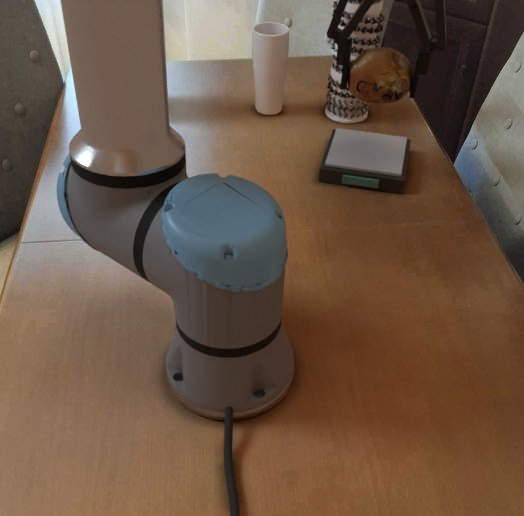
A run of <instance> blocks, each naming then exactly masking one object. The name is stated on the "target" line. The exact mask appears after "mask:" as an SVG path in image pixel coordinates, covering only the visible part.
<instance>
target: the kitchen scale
mask: <svg viewBox="0 0 524 516" xmlns="http://www.w3.org/2000/svg"><path fill="white" fill-rule="evenodd" d="M411 141H412V140H411V138H409V139H408V136H401V135H393V134H384V133H378V132H370V131H364V130H363V131H362V130H356V129H347V128H340V127H336V129H334V128H333V129H332V131H331V134H330V137H329V139H328V143H327V145H326V149H325V151H324V154H323V157H322V160H321V163H320V167H319V173H318V182H320V183H326V184H333V185H338V186H346V187H353V188H359V189H360V188H361V189H366V190H373V191H380V192H387V193H394V194H399V195H402V194H403V191H404V186H405V183H406V175H407V168H408V161H409V155H410V149H411Z"/></svg>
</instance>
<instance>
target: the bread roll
mask: <svg viewBox="0 0 524 516" xmlns="http://www.w3.org/2000/svg"><path fill="white" fill-rule="evenodd" d="M412 80H413V68H412V64H411V63H410V61H409V60H408V58H407V57H406V56H405V55H404V54H403V53H402V52H400V51H398V50H396V49H394V48H391V47H387V46H382V47H379V48H369V49H366V50H365V51H364V52H363V53H362V54H360V55H359V56H358V57H357V58H356V59H355V60H354V61H353V63H352V64H351V65H350V66H349V71H348V78H347V82H348V88H349V90H350V92H351V94H352V95H353V96H354V97H356V98H357V99H359V100H361V101H364V102H368V104H376V105H377V104H379V105H380V104H381V105H387V104H393V103H397V102H399V101H400V100H402V99H403V98H405V97H406V95H408V93H409V92H410V90H411V85H412Z"/></svg>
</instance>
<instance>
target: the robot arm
mask: <svg viewBox="0 0 524 516" xmlns="http://www.w3.org/2000/svg"><path fill="white" fill-rule="evenodd" d="M394 1H395V2H397V3H398V2H400V3H403V2H404V1H406V4H407V7H408V10H409V11H410V14H411V17H412V20H413V23H414V26H415V29H416V32H417V35H418V37H419V41H420V43H421V46H418V51H417V54H416V61H415V65H414V69H413V70H414V71H413V74H412V85H411V90H409V97H408V98H409V99H415V95H416V91H417V86H418V81H419V76H421V75H422V76H426V75H427V74H428V71H429V66H430V63H431V56H432V54H433V53H434V52H437V51H441V52H442V51H445V50H446V48H447V39H448V38H447V23H446V21H447V20H446V2H445V1H446V0H433V1H434V16H435V32H436V38H433V37H432V34H431V32H430V27H429V25H428V22H427V19H426V16H425V13H424V9H423V7H422V3H421V0H394ZM347 2H348V0H339V2H338V4H337V7H336V10H335V12H334V15H333V17H332V18H331V21H330V23H329V26H328V28H327V31H326V37H327V38H328V39H332V38H333V39H334V40H336V41H337V43H338V49H337V58H336V63H337V65H342V66H343V69H342V77H341V86H340V89H342V90H345V88H346V85H347V78H348V71H349V65H350V57H351V49H352V41H353V40H352V39H348V38H349V37H350V35H351V34H352V33H353V31H354V30H355V28H356V27H357V25H358V24H359V23H360V21H361V20H362V18H363V17H364V15H365V14H366V13H367V11H368V10H369V8H370V7H371V6H372V5H373V3H374V2H375V0H363V1H362V2H361V4H360V5H359V7H358V8H357V10H356V11H355V13H354V14H353V15H352V17H351V18H350V20H349V21H348V23H347V24H346V26H345V27H344V29H343V30H342V29H340V28H338V26H339V23H340V21H341V18H342V15H343V13H344V10H345V8H346V5H347ZM60 6H61V14H62V18H63V19H62V20H63V26H64V30H65V37H66V42H67V49H68V54H69V61H70V69H71V74H72V75H71V76H72V80H73V87H74V92H75V93H74V94H75V100H76V106H77V112H78V118H79V125H80V129H79V130H78V131H77V133H75V135H74V136H72V138H71V139H70V141H69V144H68V154H67V155H66V157H65V159H64V161H63V163H62V165H63V167H64V168H63V171H62V172H59V173H58V174H57V179H56V200H57V206H58V208H59V212H60V215H61V217H62V219H63V221H64V223H65V224H66V225H67V227H68V228H69V229H70V230H71V231H72V232H73V233H74V234H75V235H76V236H77V237H79V238H80V239H81V240H82V241H83V242H84V243H85V244H86V245H87V246H88V247H90V248H91V249H92V250H94V251H97V252H99V253H101V254H103V255H104V256H106V257H108V258H109V259H111V260H112V261H114V262H116V263H117V264H119V265H120V266H122V267H124V268H125V269H127V270H129V271H130V272H132V273H134V274H135V275H137V276H138V277H140V278H141V279H142V280H144V281H146V282H148V283H150V284H151V285H153V286H154V287H156V288H158V289H159V290H161V291H162V292H164V293H165V294H166V295H168V296H169V297H170V298H171V300H172V303H173V311H174V318H175V319H174V320H175V327H174V330H173V332H172V335H171V339H170V342H169V346H168V348H167V351H166V356H165V375H166V381H167V384H168V387H169V389H170V391H171V394H172V395H173V396H174V398H175V399H176V400H177V401H178V402H179V403H180V404H181V405H182V406H183V407H185V408H186V409H188V410H189V411H191V412H192V413H195V414H197V415H199V416H202V417H204V418H208V419H212V420H219V421H224V432H223V433H224V437H223V458H224V459H223V462H224V463H223V464H224V475H225V481H226V488H227V494H228V499H229V500H228V501H229V508H230V509H229V511H230V512H229V513H230V516H240V513H241V512H240V503H239V496H238V490H237V485H236V484H237V483H236V479H235V477H236V476H235V470H234V462H233V461H234V460H233V438H234V437H233V435H234V434H233V433H234V432H233V430H234V421H240V420H247V419H250V418H251V419H252V418H253V417H257V416H259V415H262V414H264V413H266V412H268V411H269V410H271V409H272V408H275V406H277V405H278V404H279V403H280V402H281V401H282V400H283V399H284V398H285V397H286V395H287V394H288V392H289V391H290V389H291V387H292V383H293V382H294V381H293V380H294V376H295V375H294V374H295V357H294V350H293V347H292V345H291V342H290V340H289V337H288V334H287V331H286V329H285V327H284V324H283V322H282V321H283V306H284V291H285V280H286V279H285V277H286V266H287V263H288V257H289V256H288V255H289V249H288V239H287V224H286V219H285V215H284V212H283V210H282V208H281V206H280V204H279V203H278V201H277V200H276V199H275V197H273V195H271V193H270V192H268V190H266V189H264V187H262V186H261V185H259V184H257V183H255V182H253V181H251V180H249V179H247V178H245V177H241V176H238V175H234V174H227V176H225V177H222V176H221V175H220V174H219V173H215V172H213V173H211V172H210V173H202V174H197V175H193V176H190V177H189V176H188V173H187V153H186V152H187V151H186V142H185V139H184V138H183V135H181V134H180V133H179V132H178V131H176V130H175V129H174V128H173V127H172V126H171V125H170V111H169V109H170V107H169V93H168V75H167V73H168V71H167V56H166V55H167V54H166V35H165V34H166V33H165V18H164V0H60ZM333 39H332V40H333Z"/></svg>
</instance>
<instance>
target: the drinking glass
mask: <svg viewBox="0 0 524 516" xmlns="http://www.w3.org/2000/svg"><path fill="white" fill-rule="evenodd" d="M251 30H252V31H251V58H252V59H251V60H252V61H251V62H252V73H253V85H254V88H253V89H254V108H255V111H257V113H259V114H261V115H264V116H273V115H274V116H275V115H277V114H280V113H281V111H282V110H283V105H284V104H283V101H284V92H285V84H286V76H287V69H288V60H289V51H290V28H289V27H288V26H287V25H286V24H283V23H280V22H274V21H266V22H260V23H256V24H255V25H254V26H253V27H252V29H251Z"/></svg>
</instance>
